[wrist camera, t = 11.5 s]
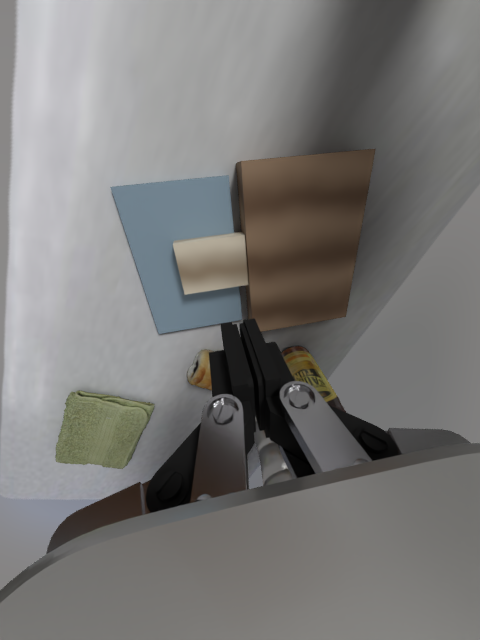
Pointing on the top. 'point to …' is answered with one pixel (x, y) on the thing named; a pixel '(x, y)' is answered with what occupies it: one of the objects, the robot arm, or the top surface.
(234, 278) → the birch tile
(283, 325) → the walnut stand
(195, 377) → the pastry
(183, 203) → the rubber mat
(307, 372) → the sauce bottle
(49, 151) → the top surface
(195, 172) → the top surface
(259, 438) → the plastic bottle
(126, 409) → the washcloth
